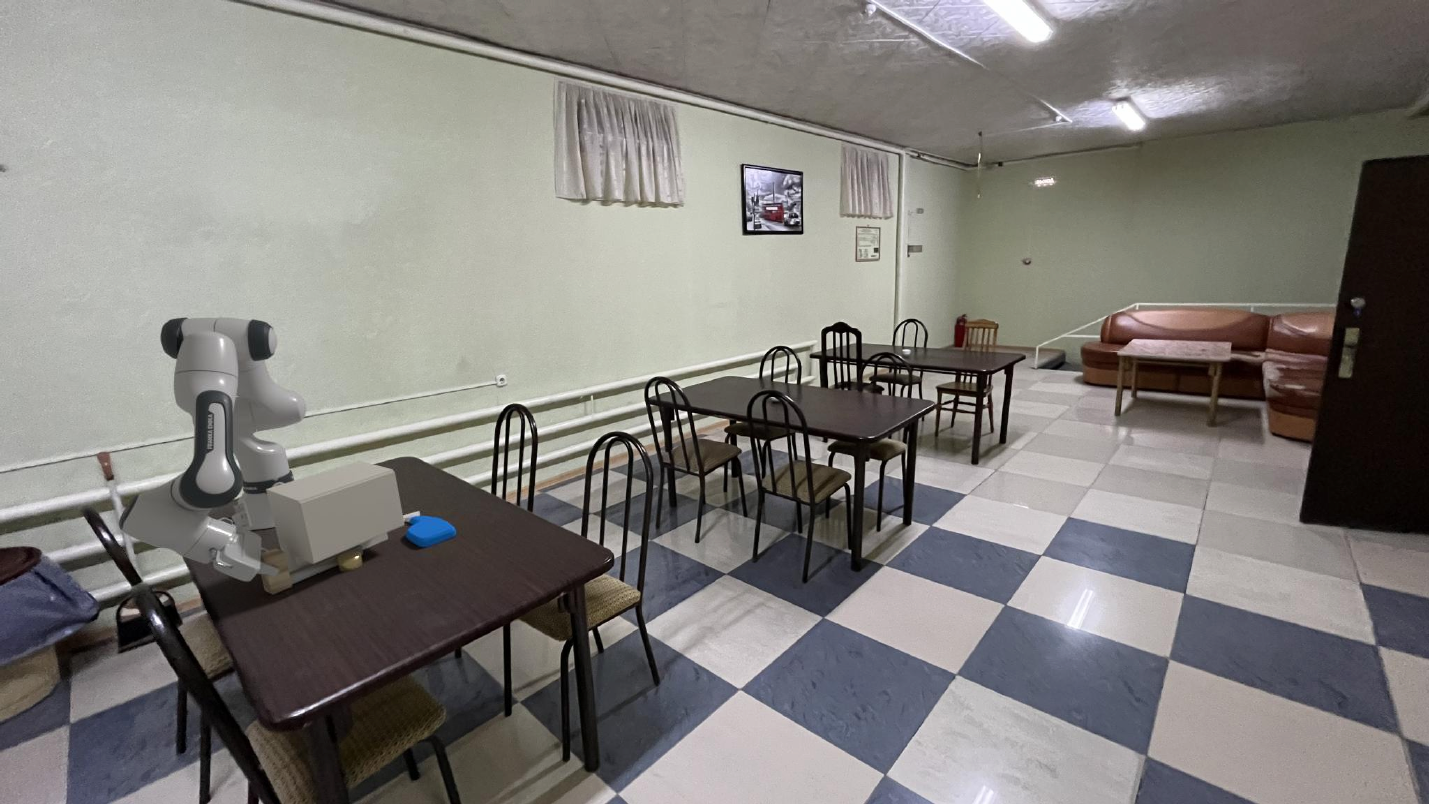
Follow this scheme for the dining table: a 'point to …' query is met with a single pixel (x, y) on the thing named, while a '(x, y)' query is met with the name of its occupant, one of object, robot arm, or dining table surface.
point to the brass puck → (350, 560)
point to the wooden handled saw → (287, 578)
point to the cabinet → (335, 512)
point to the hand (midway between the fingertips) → (277, 566)
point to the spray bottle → (427, 529)
